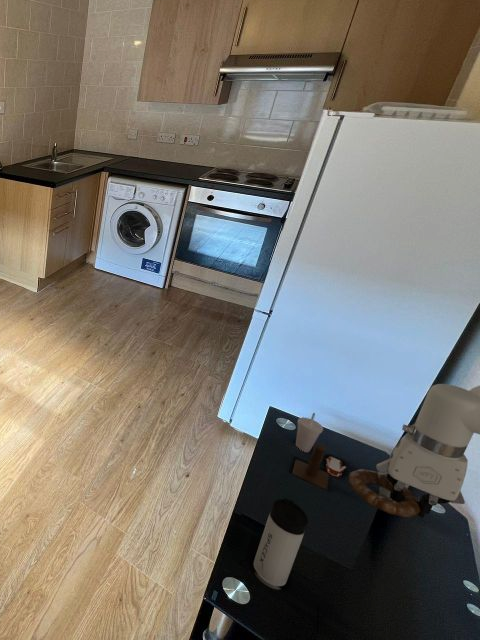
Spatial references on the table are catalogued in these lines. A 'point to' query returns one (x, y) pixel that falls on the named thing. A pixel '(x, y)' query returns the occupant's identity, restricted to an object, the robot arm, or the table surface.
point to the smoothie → (307, 433)
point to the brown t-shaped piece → (312, 469)
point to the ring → (404, 508)
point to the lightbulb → (386, 491)
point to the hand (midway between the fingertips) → (407, 507)
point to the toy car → (334, 466)
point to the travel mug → (280, 543)
